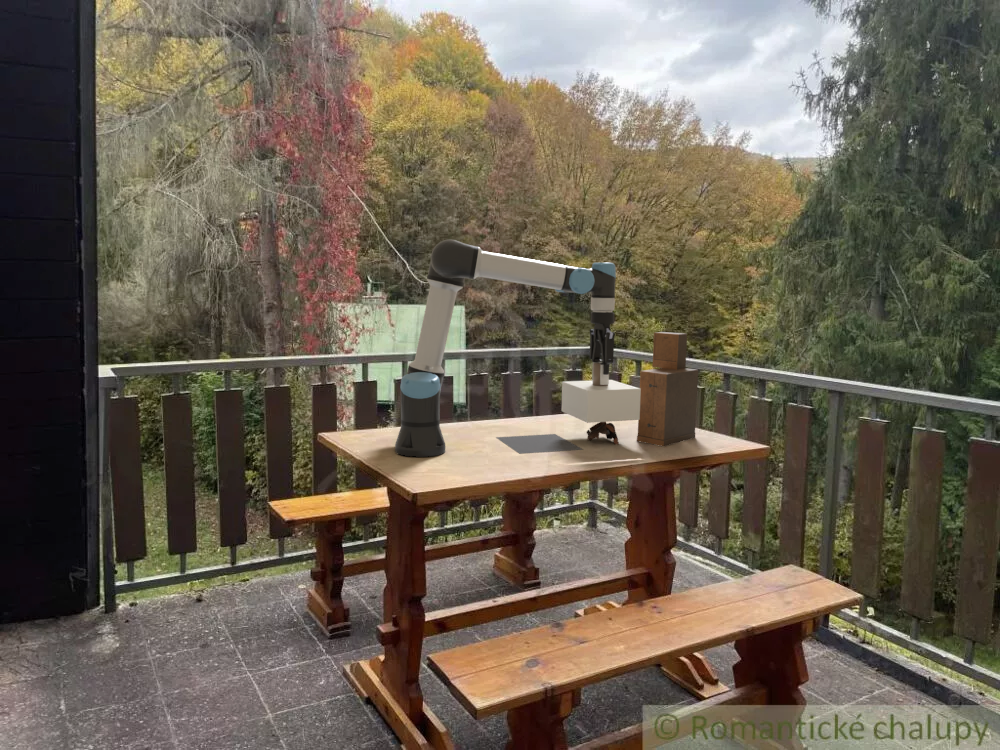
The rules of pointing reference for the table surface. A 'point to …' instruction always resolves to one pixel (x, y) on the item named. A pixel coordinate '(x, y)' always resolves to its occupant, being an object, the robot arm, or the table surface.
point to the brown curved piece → (603, 431)
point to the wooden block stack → (668, 393)
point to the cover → (600, 400)
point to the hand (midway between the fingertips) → (600, 383)
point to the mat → (538, 443)
